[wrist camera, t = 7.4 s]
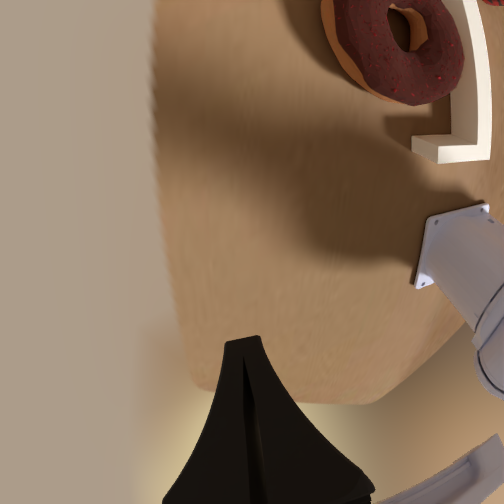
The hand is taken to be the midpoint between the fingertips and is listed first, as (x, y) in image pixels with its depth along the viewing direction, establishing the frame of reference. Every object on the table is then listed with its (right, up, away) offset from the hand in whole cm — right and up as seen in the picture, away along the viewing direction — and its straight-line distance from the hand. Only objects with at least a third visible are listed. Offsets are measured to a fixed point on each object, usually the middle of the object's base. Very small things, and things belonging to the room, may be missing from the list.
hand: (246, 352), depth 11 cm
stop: (+14, +19, +1) cm, 24 cm away
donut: (+9, +18, +1) cm, 20 cm away
